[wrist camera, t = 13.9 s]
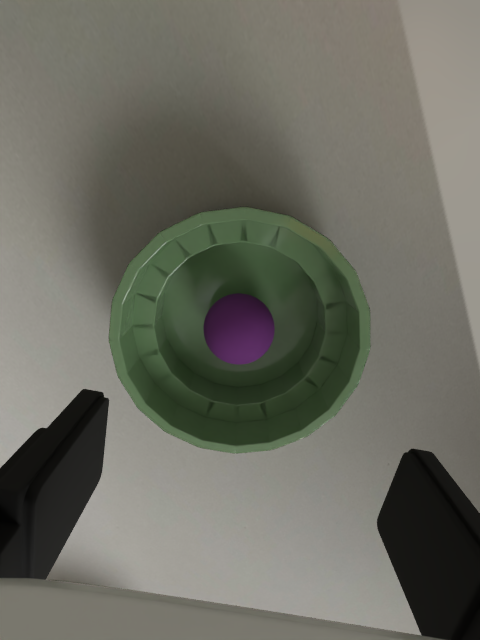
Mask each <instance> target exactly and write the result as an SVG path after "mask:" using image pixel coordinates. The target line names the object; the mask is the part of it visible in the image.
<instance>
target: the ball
mask: <svg viewBox="0 0 480 640" xmlns="http://www.w3.org/2000/svg"><path fill="white" fill-rule="evenodd" d="M203 329H204V337H205V341H206V343H207V345H208V347H209V349H210V350H211V351H212V353H213V354H214V355H215V356H216V357H218V358H219V359H221V360H223V361H225V362H227V363H231V364H236V365H241V364H248V363H251V362H254V361H256V360H257V359H259V358H260V357H262V356H263V355H264V354H265V353H266V352H267V350H268V349H269V347H270V346H271V343H272V341H273V338H274V332H275V326H274V320H273V317H272V314H271V312H270V311H269V309H268V308H267V306H266V305H265V304H264V303H263V302H262V301H260V300H259V299H257V298H256V297H254V296H251V295H248V294H242V293H236V294H230V295H227V296H225V297H222V298H221V299H219V300H218V301H216V302H215V303H214V304H213V305H212V307H211V308H210V309H209V311H208V313H207V315H206V317H205V321H204V327H203Z"/></svg>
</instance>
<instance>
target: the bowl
mask: <svg viewBox="0 0 480 640" xmlns="http://www.w3.org/2000/svg"><path fill="white" fill-rule="evenodd" d="M236 293H242V294H248V295H251V296H254V297H256V298H257V299H259V300H260V301H262V302H263V303H264V304H265V305H266V306H267V308H268V309H269V311H270V312H271V314H272V317H273V320H274V326H275V332H274V338H273V341H272V343H271V346H270V347H269V349H268V350H267V352H266V353H265V354H264V355H263V356H262V357H260V358H259V359H257V360H256V361H254V362H251V363H248V364H241V365H236V364H231V363H227V362H225V361H223V360H221V359H219V358H218V357H216V356H215V355H214V354H213V353H212V351H211V350H210V349H209V347H208V345H207V343H206V341H205V337H204V329H203V327H204V321H205V317H206V315H207V313H208V311H209V309H210V308H211V307H212V305H213V304H214V303H215V302H216V301H218V300H219V299H221V298H222V297H225V296H227V295H230V294H236ZM112 300H113V301H112V305H111V317H110V328H109V343H110V347H111V351H112V355H113V359H114V363H115V367H116V371H117V375H118V378H119V379H120V381H121V383H122V384H123V386H124V387H125V389H126V390H127V392H128V394H129V395H130V397H131V398H132V400H133V402H134V403H135V405H136V406H137V408H138V409H139V410H140V411H141V412H143V413H144V414H145V415H146V416H147V417H148V418H150V419H151V420H152V421H153V422H154V423H155V424H157V425H158V426H159V427H160V428H161V429H162V430H163V431H165V432H167V433H169V434H171V435H173V436H175V437H177V438H179V439H182V440H184V441H186V442H188V443H190V444H192V445H195V446H197V447H200V448H204V449H210V450H216V451H222V452H228V453H247V452H257V451H267V450H273V449H276V448H279V447H281V446H284V445H287V444H289V443H292V442H294V441H297V440H300V439H302V438H305V437H307V436H309V435H310V434H311V433H313V432H314V431H315V430H317V429H318V428H319V427H321V426H322V425H323V424H325V423H326V422H327V421H329V420H330V419H331V418H333V417H334V416H335V415H336V414H337V413H338V411H339V410H340V409H341V407H342V406H343V405H344V403H345V402H346V401H347V399H348V398H349V397H350V395H351V394H352V393H353V391H354V390H355V388H356V387H357V386H358V384H359V381H360V378H361V375H362V372H363V369H364V366H365V363H366V360H367V357H368V354H369V351H370V308H369V306H368V303H367V300H366V297H365V295H364V292H363V289H362V286H361V284H360V281H359V278H358V275H357V273H356V271H355V270H354V268H353V267H352V266H351V265H350V264H349V262H348V261H347V260H346V259H345V258H344V256H343V255H342V254H341V253H340V252H339V250H338V249H337V248H336V247H335V246H334V244H333V243H332V242H331V241H330V240H329V239H328V238H327V237H325V236H323V235H322V234H320V233H318V232H317V231H315V230H313V229H312V228H310V227H308V226H307V225H305V224H303V223H302V222H300V221H298V220H297V219H295V218H293V217H291V216H289V215H284V214H279V213H274V212H269V211H265V210H260V209H255V208H250V207H237V208H229V209H221V210H213V211H206V212H200V213H197V214H195V215H193V216H191V217H189V218H187V219H185V220H183V221H181V222H179V223H177V224H175V225H173V226H171V227H169V228H167V229H165V230H163V231H161V232H160V233H158V234H157V235H156V236H155V237H154V238H153V239H152V240H151V241H150V242H149V243H148V244H147V245H146V246H145V247H144V248H143V249H142V250H141V251H140V252H139V253H138V254H137V255H136V256H135V258H134V259H133V260H132V261H131V262H130V263H129V264H128V267H127V269H126V271H125V273H124V275H123V277H122V280H121V282H120V284H119V286H118V288H117V290H116V293H115V295H114V297H113V299H112Z"/></svg>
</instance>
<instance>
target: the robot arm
mask: <svg viewBox="0 0 480 640" xmlns="http://www.w3.org/2000/svg"><path fill="white" fill-rule="evenodd" d="M108 406H109V399H108V398H104V395H103V392H98V391H93V390H87V389H83V390H82V391H81V392H80V393H79V394H78V395H77V396H76V397H75V398H74V399H73V400H72V402H71V403H70V404H69V405H68V406H67V407H66V408H65V409H64V410H63V411H62V412H61V414H60V415H59V416H58V417H57V418H56V419H55V420H54V421H53V422H52V423H51V424H50V426H49V427H48V428H40V429H38V430H37V431H36V432H34V434H33V435H32V436H31V437H30V438H29V439H28V440H27V441H26V442H25V443H24V444H23V445H22V446H21V447H20V448H19V449H18V450H17V451H16V452H15V453H14V454H13V455H12V457H11V458H10V459H9V460H8V461H7V462H6V463H5V464H4V465H3V466H2V467H1V468H0V640H480V513H479V512H478V511H477V509H476V508H475V507H474V506H473V504H472V503H471V502H470V500H469V499H468V498H467V496H466V495H465V494H464V493H463V491H462V490H461V489H460V487H459V486H458V485H457V484H456V482H455V481H454V480H453V478H452V477H451V476H450V475H449V473H448V472H447V471H446V469H445V468H444V467H443V466H442V464H441V463H440V462H439V460H438V459H437V458H436V456H435V455H434V454H433V453H432V452H429V451H423V450H418V449H410V450H409V451H408V452H406V453H404V454H403V456H402V458H401V461H400V463H399V466H398V468H397V471H396V473H395V476H394V478H393V481H392V483H391V486H390V488H389V491H388V493H387V496H386V498H385V501H384V503H383V506H382V508H381V511H380V513H379V516H378V519H377V527H378V531H379V534H380V536H381V538H382V541H383V543H384V546H385V548H386V550H387V553H388V555H389V558H390V560H391V562H392V565H393V567H394V570H395V572H396V574H397V577H398V579H399V582H400V584H401V586H402V589H403V591H404V594H405V596H406V599H407V601H408V603H409V606H410V608H411V611H412V613H413V615H414V618H415V620H416V623H417V625H418V627H419V630H420V632H421V635H422V636H420V635H414V634H408V633H402V632H396V631H390V630H384V629H378V628H372V627H366V626H360V625H354V624H347V623H341V622H335V621H329V620H322V619H316V618H310V617H303V616H297V615H291V614H284V613H278V612H272V611H265V610H259V609H253V608H246V607H240V606H234V605H227V604H220V603H214V602H207V601H201V600H194V599H187V598H181V597H174V596H168V595H161V594H154V593H148V592H141V591H135V590H128V589H120V588H112V587H105V586H97V585H90V584H82V583H75V582H67V581H57V580H46V578H47V576H48V574H49V572H50V571H51V569H52V567H53V565H54V563H55V561H56V560H57V558H58V556H59V554H60V552H61V550H62V549H63V547H64V545H65V543H66V541H67V539H68V538H69V536H70V534H71V532H72V530H73V528H74V526H75V525H76V523H77V521H78V519H79V517H80V515H81V514H82V512H83V510H84V508H85V506H86V504H87V503H88V501H89V499H90V497H91V495H92V493H93V492H94V490H95V488H96V486H97V484H98V482H99V480H100V477H101V473H102V467H103V457H104V447H105V437H106V426H107V416H108Z"/></svg>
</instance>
